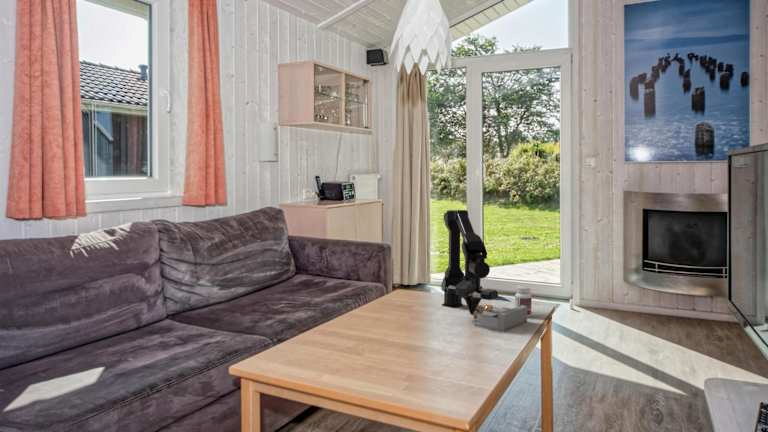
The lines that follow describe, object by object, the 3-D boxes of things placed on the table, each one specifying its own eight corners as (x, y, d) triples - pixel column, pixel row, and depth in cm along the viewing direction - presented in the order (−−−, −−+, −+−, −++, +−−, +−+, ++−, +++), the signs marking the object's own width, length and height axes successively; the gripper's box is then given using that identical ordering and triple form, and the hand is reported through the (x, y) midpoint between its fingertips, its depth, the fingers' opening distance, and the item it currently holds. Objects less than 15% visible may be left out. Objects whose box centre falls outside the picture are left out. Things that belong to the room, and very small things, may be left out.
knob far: (482, 315, 211) (482, 305, 211) (489, 313, 215) (489, 303, 215) (501, 319, 206) (501, 309, 206) (508, 316, 210) (508, 306, 209)
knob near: (472, 320, 205) (472, 309, 205) (479, 317, 209) (479, 307, 208) (491, 324, 200) (491, 313, 199) (498, 321, 204) (498, 310, 203)
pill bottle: (534, 315, 216) (534, 287, 215) (525, 318, 212) (526, 289, 211) (520, 313, 221) (521, 284, 220) (511, 315, 216) (512, 286, 215)
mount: (474, 325, 202) (474, 309, 202) (498, 316, 215) (498, 301, 215) (503, 332, 194) (504, 315, 194) (527, 322, 207) (527, 306, 207)
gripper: (439, 272, 207) (438, 314, 208) (482, 279, 194) (482, 323, 196) (456, 269, 215) (455, 309, 216) (499, 274, 203) (498, 317, 204)
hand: (472, 314), depth 208 cm, fingers closed
